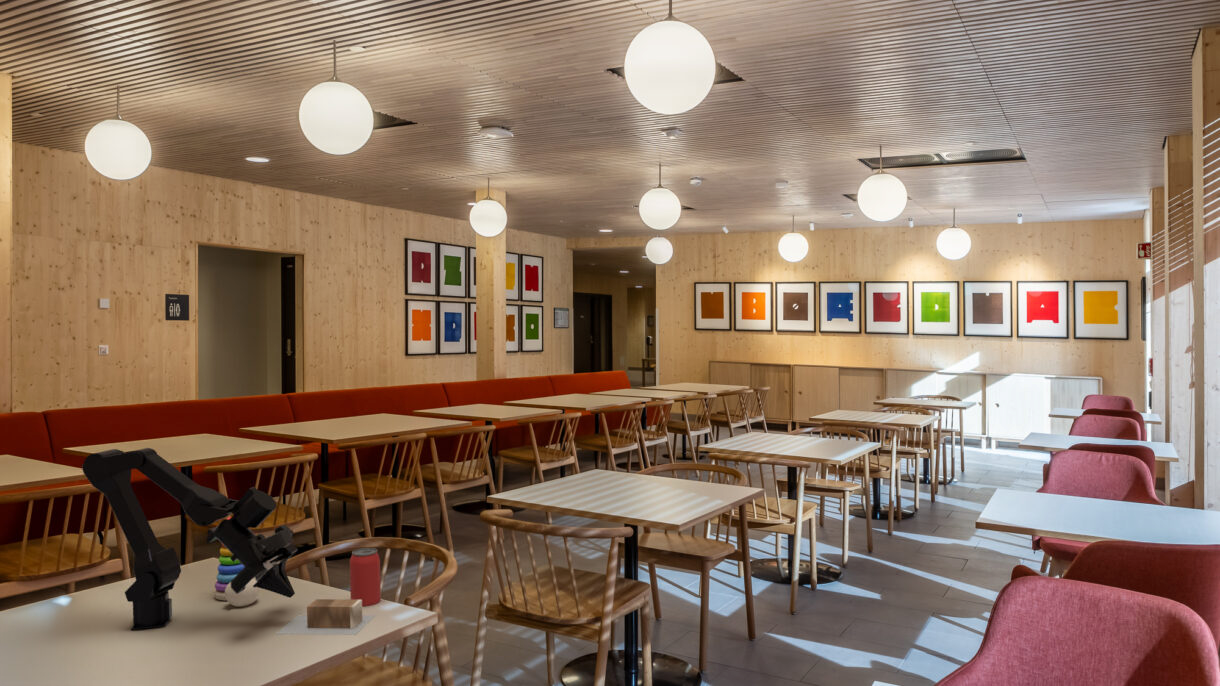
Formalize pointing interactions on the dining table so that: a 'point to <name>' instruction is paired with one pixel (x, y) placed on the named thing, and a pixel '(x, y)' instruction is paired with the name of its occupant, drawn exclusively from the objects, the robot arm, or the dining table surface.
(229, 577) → the stacking toy
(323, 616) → the walnut block
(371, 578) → the beer can
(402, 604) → the dining table surface
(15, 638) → the dining table surface
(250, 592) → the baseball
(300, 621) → the rubber mat
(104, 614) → the dining table surface
